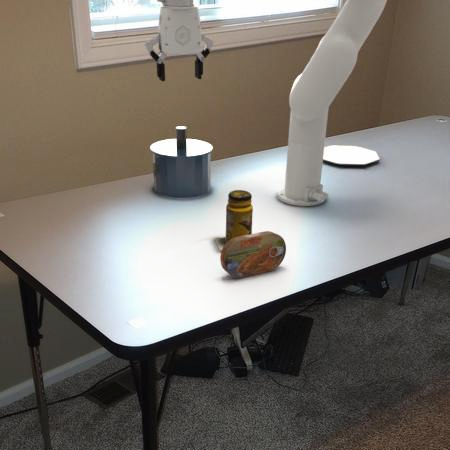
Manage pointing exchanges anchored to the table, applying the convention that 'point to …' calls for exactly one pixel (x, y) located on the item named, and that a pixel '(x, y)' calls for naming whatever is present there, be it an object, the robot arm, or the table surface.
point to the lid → (181, 146)
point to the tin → (253, 254)
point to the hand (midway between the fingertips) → (180, 79)
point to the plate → (349, 155)
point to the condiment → (237, 216)
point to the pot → (182, 176)
